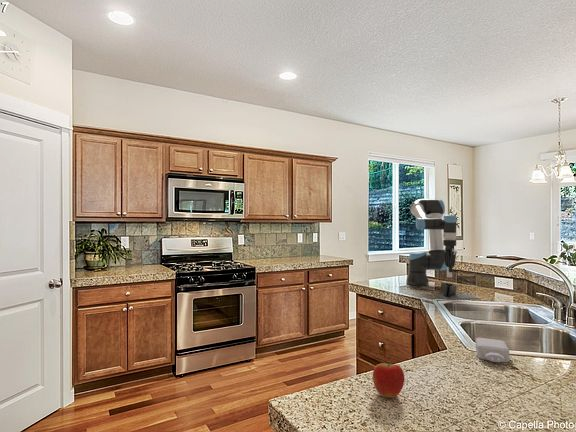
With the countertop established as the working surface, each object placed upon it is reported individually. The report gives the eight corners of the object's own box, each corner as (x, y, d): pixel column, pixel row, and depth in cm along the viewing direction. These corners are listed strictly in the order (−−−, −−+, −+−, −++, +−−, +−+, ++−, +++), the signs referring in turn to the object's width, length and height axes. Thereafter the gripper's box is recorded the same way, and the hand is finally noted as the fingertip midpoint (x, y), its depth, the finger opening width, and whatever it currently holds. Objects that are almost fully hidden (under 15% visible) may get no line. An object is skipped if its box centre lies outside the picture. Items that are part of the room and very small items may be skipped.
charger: (479, 365, 119) (475, 350, 133) (512, 370, 115) (505, 354, 129) (479, 350, 119) (475, 337, 133) (512, 355, 115) (505, 340, 129)
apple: (370, 400, 95) (370, 361, 95) (374, 386, 103) (375, 350, 103) (403, 405, 92) (403, 366, 92) (405, 391, 100) (405, 354, 100)
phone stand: (440, 291, 232) (439, 295, 221) (441, 282, 232) (440, 285, 221) (455, 294, 228) (455, 298, 218) (457, 285, 228) (456, 288, 217)
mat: (433, 294, 228) (433, 294, 228) (468, 294, 230) (468, 294, 230) (443, 299, 216) (443, 298, 216) (479, 299, 218) (479, 298, 218)
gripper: (439, 238, 238) (438, 275, 237) (449, 240, 225) (448, 278, 224) (450, 239, 238) (450, 275, 238) (461, 240, 225) (460, 278, 225)
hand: (449, 277), depth 231 cm, fingers closed
